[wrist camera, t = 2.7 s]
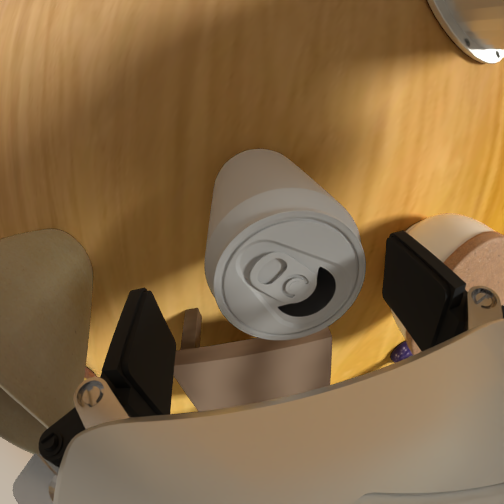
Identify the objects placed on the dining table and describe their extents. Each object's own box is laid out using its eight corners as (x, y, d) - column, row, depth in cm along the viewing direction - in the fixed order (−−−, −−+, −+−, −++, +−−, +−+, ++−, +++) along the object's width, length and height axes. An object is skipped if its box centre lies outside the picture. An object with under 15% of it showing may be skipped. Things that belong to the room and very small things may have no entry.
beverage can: (262, 244, 22) (293, 365, 12) (196, 197, 20) (167, 302, 10) (317, 184, 20) (403, 270, 10) (252, 128, 18) (290, 157, 8)
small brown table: (308, 280, 25) (332, 336, 18) (313, 361, 31) (328, 410, 24) (177, 306, 25) (167, 366, 19) (212, 380, 31) (213, 430, 25)
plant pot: (140, 205, 20) (33, 383, 6) (126, 337, 26) (93, 478, 12) (2, 173, 16) (-124, 263, 3) (15, 299, 23) (-47, 404, 9)
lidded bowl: (466, 259, 26) (523, 315, 16) (386, 320, 29) (430, 395, 19) (446, 169, 20) (535, 217, 11) (344, 244, 23) (409, 334, 14)
